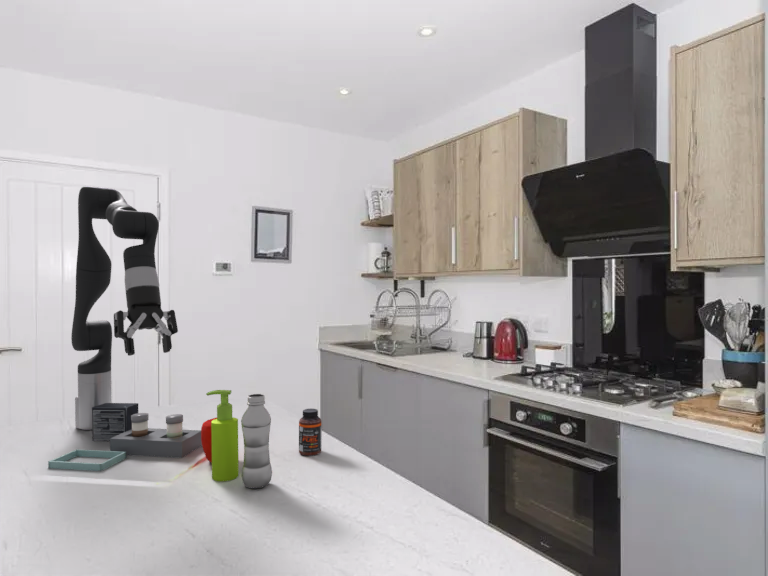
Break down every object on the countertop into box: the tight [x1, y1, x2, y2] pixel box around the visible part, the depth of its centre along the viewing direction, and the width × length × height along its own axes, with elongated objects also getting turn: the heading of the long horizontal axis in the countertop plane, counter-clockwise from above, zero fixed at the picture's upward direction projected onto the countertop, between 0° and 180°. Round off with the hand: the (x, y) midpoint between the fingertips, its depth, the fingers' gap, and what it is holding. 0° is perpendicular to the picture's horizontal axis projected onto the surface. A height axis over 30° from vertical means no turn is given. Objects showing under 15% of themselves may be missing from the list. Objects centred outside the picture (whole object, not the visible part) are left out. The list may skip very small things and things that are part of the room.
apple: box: [200, 417, 217, 464], centre depth 129 cm, size 9×9×11 cm
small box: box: [91, 402, 139, 442], centre depth 146 cm, size 11×6×10 cm, turn 84°
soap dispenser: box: [205, 389, 240, 483], centre depth 119 cm, size 6×7×20 cm
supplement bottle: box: [298, 408, 323, 457], centre depth 135 cm, size 6×6×11 cm
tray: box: [47, 448, 127, 472], centre depth 126 cm, size 14×9×2 cm, turn 81°
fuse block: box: [109, 413, 202, 459], centre depth 135 cm, size 20×10×10 cm, turn 81°
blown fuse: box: [131, 412, 150, 437], centre depth 136 cm, size 4×4×9 cm
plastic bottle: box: [240, 393, 273, 489], centre depth 113 cm, size 6×7×20 cm
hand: (149, 353), depth 122 cm, fingers open, 8 cm apart
